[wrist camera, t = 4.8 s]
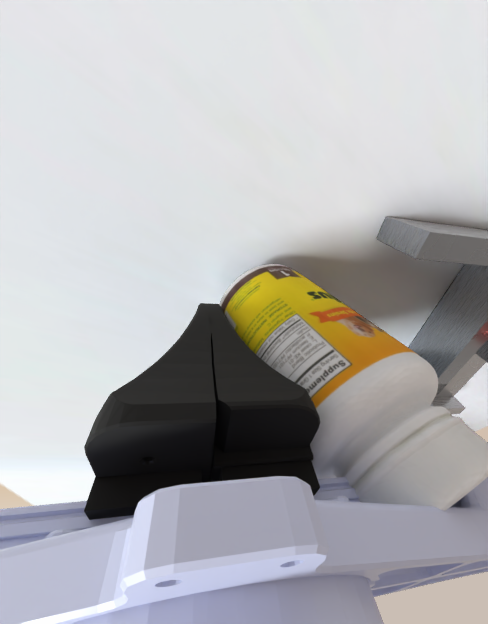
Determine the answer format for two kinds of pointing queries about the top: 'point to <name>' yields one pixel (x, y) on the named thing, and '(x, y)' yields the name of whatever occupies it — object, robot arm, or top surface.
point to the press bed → (448, 291)
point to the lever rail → (457, 386)
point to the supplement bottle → (358, 392)
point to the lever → (483, 351)
